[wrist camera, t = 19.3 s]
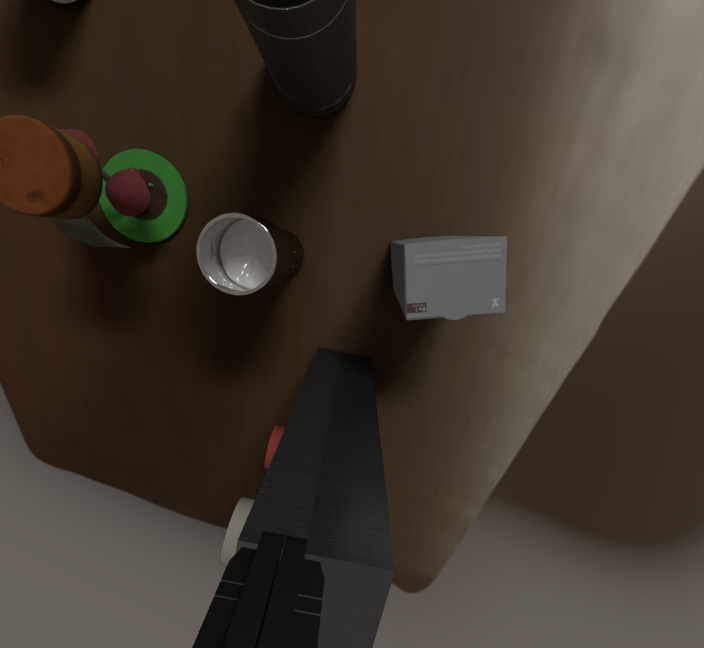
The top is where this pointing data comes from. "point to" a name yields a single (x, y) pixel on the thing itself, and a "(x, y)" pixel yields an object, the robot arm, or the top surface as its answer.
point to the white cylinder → (235, 529)
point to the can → (64, 1)
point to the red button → (273, 444)
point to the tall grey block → (333, 496)
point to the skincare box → (450, 276)
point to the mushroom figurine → (87, 184)
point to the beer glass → (247, 253)
